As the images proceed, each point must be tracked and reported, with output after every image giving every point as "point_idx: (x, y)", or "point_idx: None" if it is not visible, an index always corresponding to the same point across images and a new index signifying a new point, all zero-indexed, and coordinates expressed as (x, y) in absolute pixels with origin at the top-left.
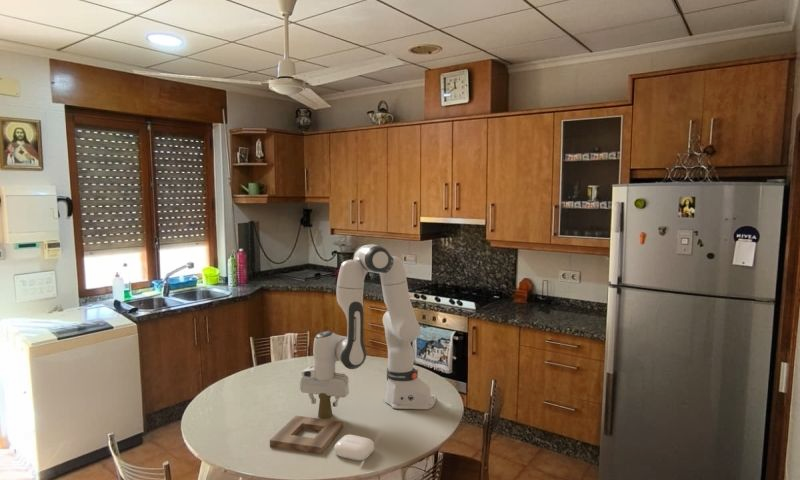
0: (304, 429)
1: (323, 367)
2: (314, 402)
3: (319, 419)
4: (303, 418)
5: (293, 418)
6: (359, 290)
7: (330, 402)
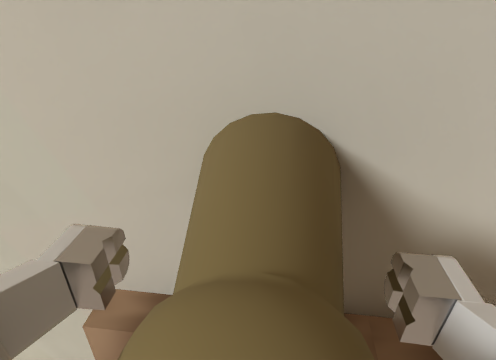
0: None
1: None
2: (118, 279)
3: None
4: None
5: (99, 357)
6: None
7: (342, 273)
